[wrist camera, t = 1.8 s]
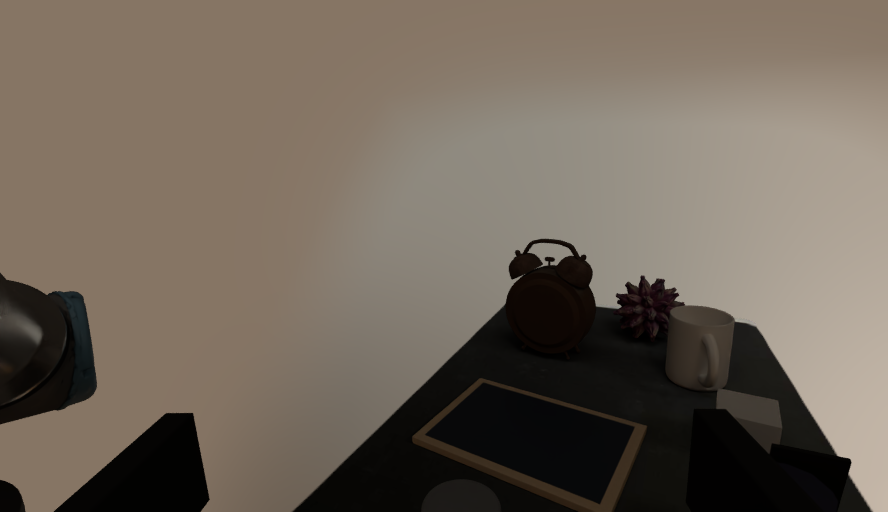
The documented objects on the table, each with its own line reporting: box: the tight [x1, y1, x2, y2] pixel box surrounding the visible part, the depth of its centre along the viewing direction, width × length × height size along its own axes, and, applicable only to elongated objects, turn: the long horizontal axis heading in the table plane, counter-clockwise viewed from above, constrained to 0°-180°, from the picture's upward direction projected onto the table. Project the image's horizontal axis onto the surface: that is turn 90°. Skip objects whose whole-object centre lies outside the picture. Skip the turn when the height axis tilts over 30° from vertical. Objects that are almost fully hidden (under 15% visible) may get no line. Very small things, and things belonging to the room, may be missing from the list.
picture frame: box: [412, 378, 647, 512], centre depth 58 cm, size 24×17×1 cm
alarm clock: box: [506, 239, 596, 360], centre depth 79 cm, size 15×7×20 cm, turn 57°
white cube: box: [716, 388, 782, 454], centre depth 53 cm, size 6×6×6 cm
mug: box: [665, 306, 735, 392], centre depth 67 cm, size 12×8×10 cm
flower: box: [613, 276, 685, 342], centre depth 84 cm, size 12×12×12 cm
